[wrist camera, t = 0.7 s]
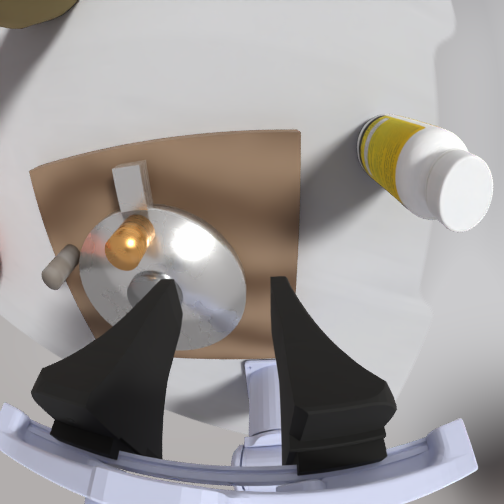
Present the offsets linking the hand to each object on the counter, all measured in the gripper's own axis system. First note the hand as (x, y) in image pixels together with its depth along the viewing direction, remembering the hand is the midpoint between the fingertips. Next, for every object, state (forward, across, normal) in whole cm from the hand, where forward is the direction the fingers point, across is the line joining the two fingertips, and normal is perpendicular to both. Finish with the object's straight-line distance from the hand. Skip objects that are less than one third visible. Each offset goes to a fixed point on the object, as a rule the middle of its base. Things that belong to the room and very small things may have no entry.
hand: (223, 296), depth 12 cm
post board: (+10, +6, +6) cm, 13 cm away
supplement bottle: (+11, -12, -4) cm, 16 cm away
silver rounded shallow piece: (+8, +6, +4) cm, 11 cm away
